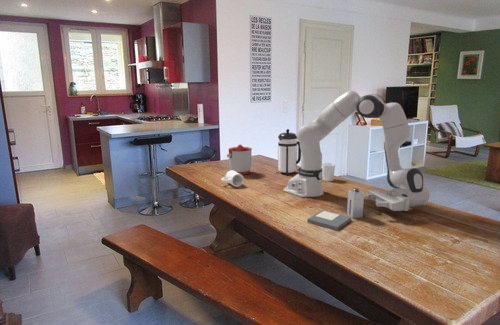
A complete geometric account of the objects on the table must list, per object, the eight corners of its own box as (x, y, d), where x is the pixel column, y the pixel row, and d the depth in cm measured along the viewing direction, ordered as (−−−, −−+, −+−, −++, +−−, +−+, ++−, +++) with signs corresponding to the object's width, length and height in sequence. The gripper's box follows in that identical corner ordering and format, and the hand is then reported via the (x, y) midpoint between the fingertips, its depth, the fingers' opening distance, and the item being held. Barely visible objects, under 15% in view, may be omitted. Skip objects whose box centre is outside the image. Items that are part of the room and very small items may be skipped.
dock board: (307, 222, 152) (307, 218, 151) (322, 213, 162) (322, 209, 162) (336, 230, 143) (337, 226, 143) (351, 220, 153) (351, 216, 153)
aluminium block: (346, 214, 160) (348, 188, 157) (356, 213, 161) (358, 187, 159) (352, 218, 156) (354, 191, 153) (362, 217, 157) (364, 190, 154)
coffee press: (299, 176, 226) (300, 130, 220) (274, 175, 229) (275, 130, 223) (300, 169, 243) (301, 127, 236) (278, 169, 246) (278, 127, 239)
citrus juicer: (223, 171, 240) (223, 143, 235) (247, 169, 246) (247, 141, 241) (230, 177, 225) (230, 147, 221) (255, 174, 231) (255, 145, 227)
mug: (237, 181, 215) (237, 169, 213) (244, 186, 206) (243, 173, 204) (219, 184, 210) (218, 171, 208) (225, 188, 201) (224, 175, 200)
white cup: (325, 182, 213) (325, 166, 210) (319, 178, 220) (319, 163, 218) (336, 181, 215) (337, 165, 212) (330, 177, 222) (331, 162, 220)
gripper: (383, 185, 171) (358, 187, 168) (411, 198, 152) (384, 201, 149) (382, 197, 173) (357, 200, 170) (410, 212, 154) (383, 215, 150)
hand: (370, 200), depth 159 cm, fingers open, 8 cm apart
